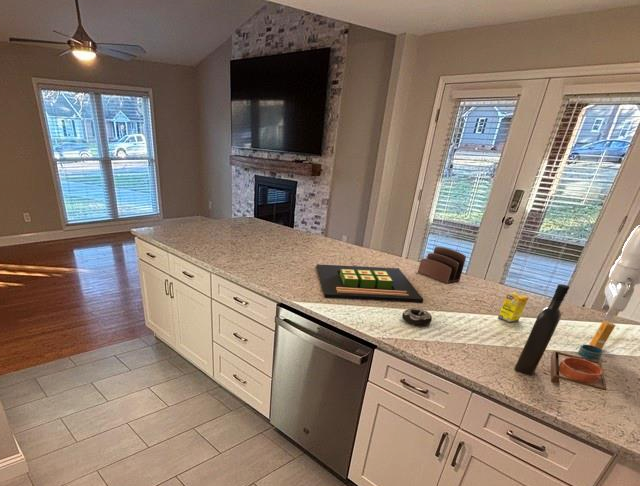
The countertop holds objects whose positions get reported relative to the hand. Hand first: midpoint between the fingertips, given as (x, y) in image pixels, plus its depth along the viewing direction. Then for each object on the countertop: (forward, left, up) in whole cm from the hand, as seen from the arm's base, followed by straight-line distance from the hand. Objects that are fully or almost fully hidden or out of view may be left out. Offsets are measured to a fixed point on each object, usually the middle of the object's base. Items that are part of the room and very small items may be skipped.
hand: (605, 314), depth 140 cm
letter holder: (+63, -64, -18) cm, 91 cm away
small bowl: (-1, 0, -17) cm, 17 cm away
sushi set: (+92, -29, -17) cm, 98 cm away
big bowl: (+3, +18, -17) cm, 25 cm away
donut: (+59, +3, -18) cm, 61 cm away
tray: (+3, +15, -17) cm, 23 cm away
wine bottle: (+18, +22, -18) cm, 33 cm away
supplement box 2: (-5, -15, -18) cm, 23 cm away
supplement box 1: (+26, -23, -18) cm, 38 cm away
